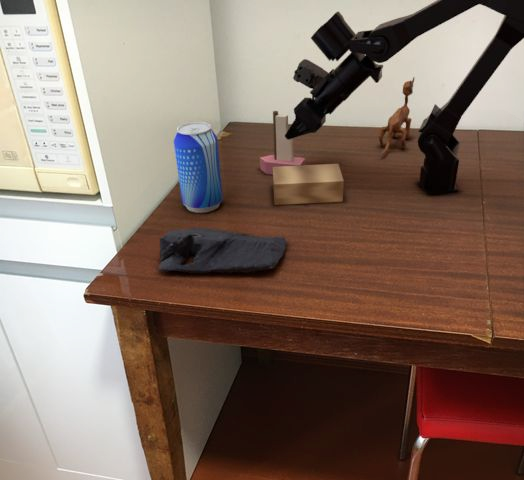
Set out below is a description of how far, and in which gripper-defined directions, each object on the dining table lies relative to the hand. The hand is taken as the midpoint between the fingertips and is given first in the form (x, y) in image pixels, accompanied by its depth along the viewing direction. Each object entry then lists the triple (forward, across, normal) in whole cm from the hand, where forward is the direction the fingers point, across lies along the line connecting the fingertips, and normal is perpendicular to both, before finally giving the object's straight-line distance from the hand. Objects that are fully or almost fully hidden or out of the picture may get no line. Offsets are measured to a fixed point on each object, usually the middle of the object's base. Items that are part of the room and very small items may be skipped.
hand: (293, 130), depth 129 cm
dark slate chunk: (+7, +39, +7) cm, 40 cm away
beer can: (+16, +21, -2) cm, 26 cm away
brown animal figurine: (-6, -21, +20) cm, 30 cm away
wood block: (+2, +10, +11) cm, 15 cm away
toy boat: (+8, 0, +5) cm, 10 cm away
